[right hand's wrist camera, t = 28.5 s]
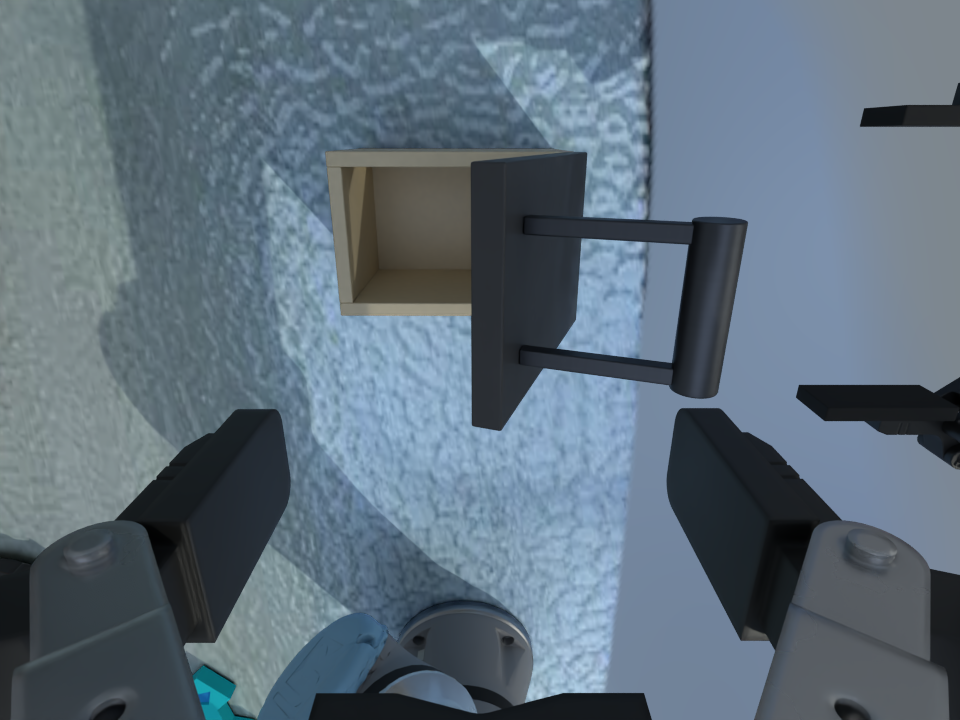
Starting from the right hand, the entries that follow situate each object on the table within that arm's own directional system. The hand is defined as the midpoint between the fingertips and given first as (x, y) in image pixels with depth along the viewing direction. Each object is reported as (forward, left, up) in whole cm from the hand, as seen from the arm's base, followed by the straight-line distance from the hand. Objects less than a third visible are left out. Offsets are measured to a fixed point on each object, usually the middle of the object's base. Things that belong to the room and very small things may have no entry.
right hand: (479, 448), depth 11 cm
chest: (0, -2, -36) cm, 36 cm away
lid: (0, +2, -17) cm, 18 cm away
